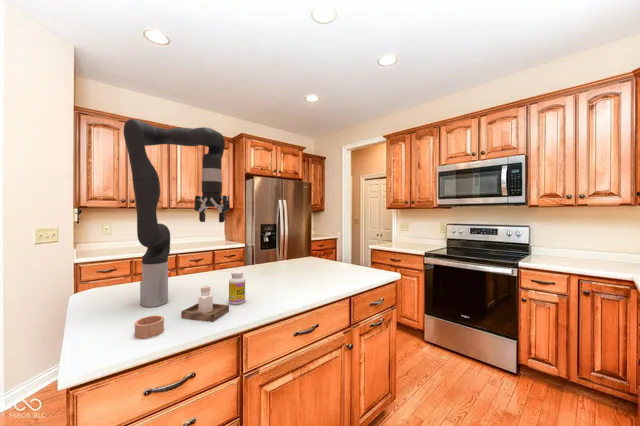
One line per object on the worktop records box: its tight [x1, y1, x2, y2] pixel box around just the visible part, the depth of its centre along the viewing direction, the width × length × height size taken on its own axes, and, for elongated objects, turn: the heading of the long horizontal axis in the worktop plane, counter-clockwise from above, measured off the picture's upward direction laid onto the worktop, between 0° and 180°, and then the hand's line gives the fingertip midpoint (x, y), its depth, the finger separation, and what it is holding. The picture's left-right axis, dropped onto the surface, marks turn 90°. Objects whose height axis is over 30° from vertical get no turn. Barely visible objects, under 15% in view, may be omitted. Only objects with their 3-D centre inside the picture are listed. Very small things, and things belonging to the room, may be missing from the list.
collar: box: [134, 314, 165, 340], centre depth 86 cm, size 8×8×4 cm
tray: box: [180, 302, 230, 323], centre depth 101 cm, size 13×10×2 cm
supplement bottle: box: [228, 270, 246, 305], centre depth 114 cm, size 7×7×13 cm
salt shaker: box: [198, 285, 214, 313], centre depth 101 cm, size 4×4×10 cm
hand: (211, 222), depth 106 cm, fingers open, 8 cm apart
